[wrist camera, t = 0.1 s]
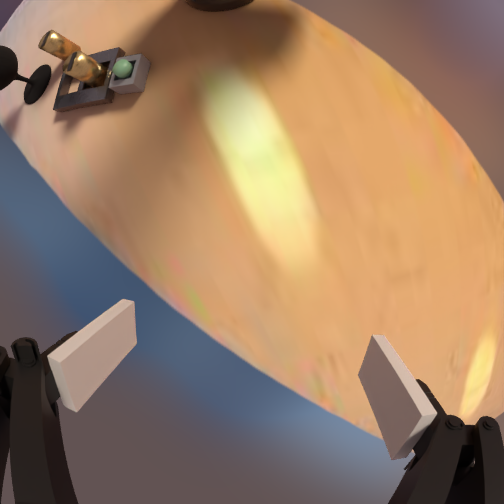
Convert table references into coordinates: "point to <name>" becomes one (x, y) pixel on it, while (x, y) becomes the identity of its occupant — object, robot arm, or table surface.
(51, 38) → the loose billet
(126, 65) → the button
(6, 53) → the wine glass
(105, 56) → the grey flat frame
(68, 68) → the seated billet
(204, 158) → the table surface
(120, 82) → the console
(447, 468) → the robot arm
